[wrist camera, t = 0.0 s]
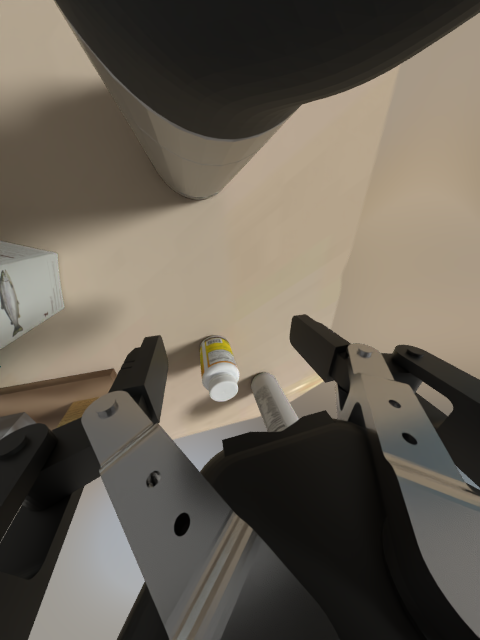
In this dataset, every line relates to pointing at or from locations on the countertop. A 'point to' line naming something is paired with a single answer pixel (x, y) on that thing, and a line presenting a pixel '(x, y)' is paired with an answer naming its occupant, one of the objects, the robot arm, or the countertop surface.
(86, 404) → the pale yellow block
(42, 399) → the board
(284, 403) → the energy drink can
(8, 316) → the supplement box
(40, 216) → the countertop surface
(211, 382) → the supplement bottle
